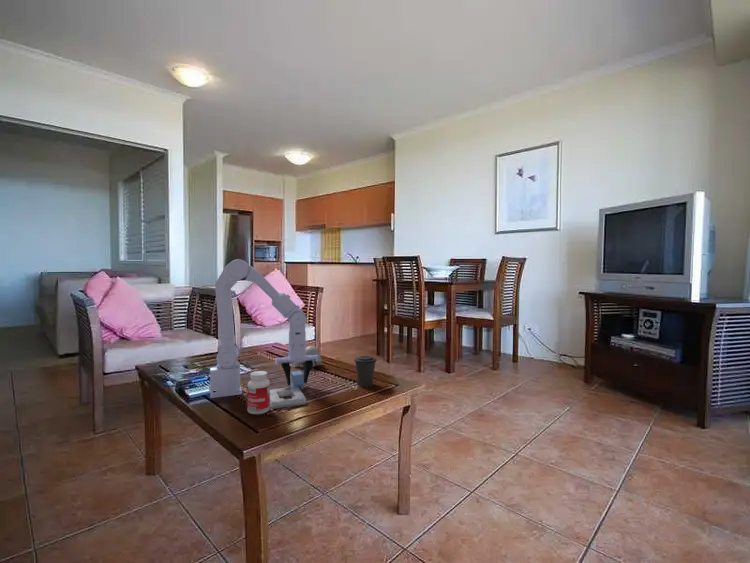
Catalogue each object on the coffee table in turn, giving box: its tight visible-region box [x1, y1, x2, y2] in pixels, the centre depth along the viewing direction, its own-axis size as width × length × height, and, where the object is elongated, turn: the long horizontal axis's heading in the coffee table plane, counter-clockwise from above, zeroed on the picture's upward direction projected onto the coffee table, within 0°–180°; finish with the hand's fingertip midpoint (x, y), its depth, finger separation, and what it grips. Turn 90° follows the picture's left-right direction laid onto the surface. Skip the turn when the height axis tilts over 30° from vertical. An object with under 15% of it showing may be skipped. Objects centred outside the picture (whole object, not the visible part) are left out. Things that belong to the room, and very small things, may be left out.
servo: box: [290, 370, 306, 392], centre depth 130 cm, size 8×3×5 cm, turn 24°
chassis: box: [270, 386, 307, 410], centre depth 118 cm, size 10×12×2 cm
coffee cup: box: [353, 355, 377, 388], centre depth 134 cm, size 8×8×10 cm
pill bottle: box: [246, 370, 271, 415], centre depth 109 cm, size 6×6×11 cm
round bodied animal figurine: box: [292, 345, 323, 368], centre depth 158 cm, size 7×12×8 cm, turn 98°
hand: (297, 383), depth 130 cm, fingers open, 5 cm apart
